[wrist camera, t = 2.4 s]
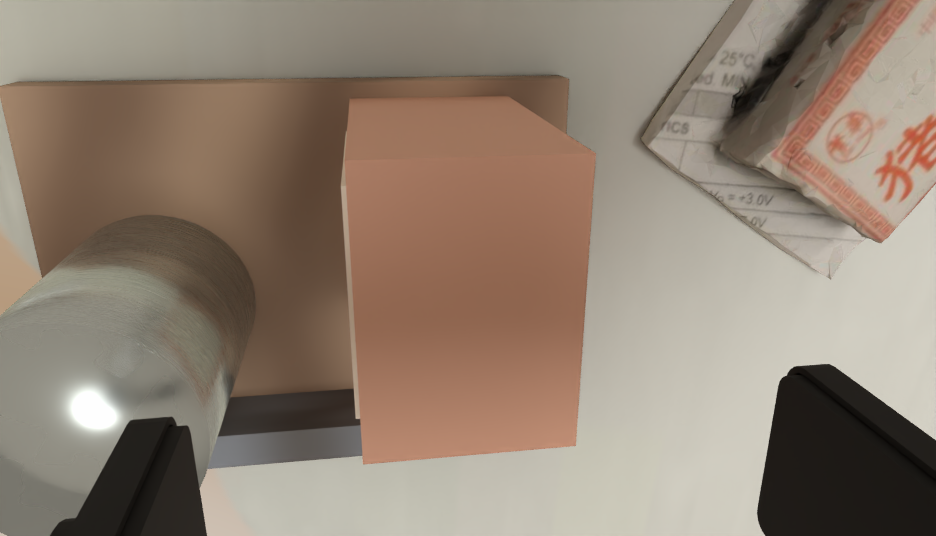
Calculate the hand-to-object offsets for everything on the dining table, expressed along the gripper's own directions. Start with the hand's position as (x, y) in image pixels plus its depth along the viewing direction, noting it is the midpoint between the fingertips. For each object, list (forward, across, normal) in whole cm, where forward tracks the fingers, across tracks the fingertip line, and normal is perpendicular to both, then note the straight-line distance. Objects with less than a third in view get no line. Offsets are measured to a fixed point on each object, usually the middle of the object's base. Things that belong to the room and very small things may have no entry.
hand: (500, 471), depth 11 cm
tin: (+14, +9, +2) cm, 16 cm away
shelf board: (+15, +4, +1) cm, 15 cm away
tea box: (+14, 0, -1) cm, 14 cm away
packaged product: (+15, -17, -7) cm, 24 cm away
